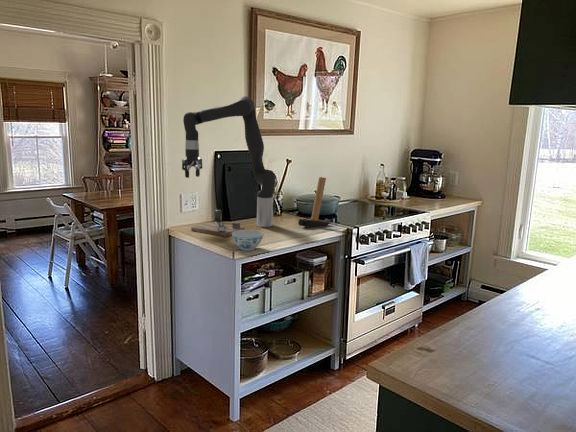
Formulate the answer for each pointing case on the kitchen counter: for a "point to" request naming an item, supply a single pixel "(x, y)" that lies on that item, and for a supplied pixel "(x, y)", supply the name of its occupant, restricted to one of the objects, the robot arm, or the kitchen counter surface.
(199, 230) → the press base
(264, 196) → the robot arm
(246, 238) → the chinaware
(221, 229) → the lever
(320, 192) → the hammer
